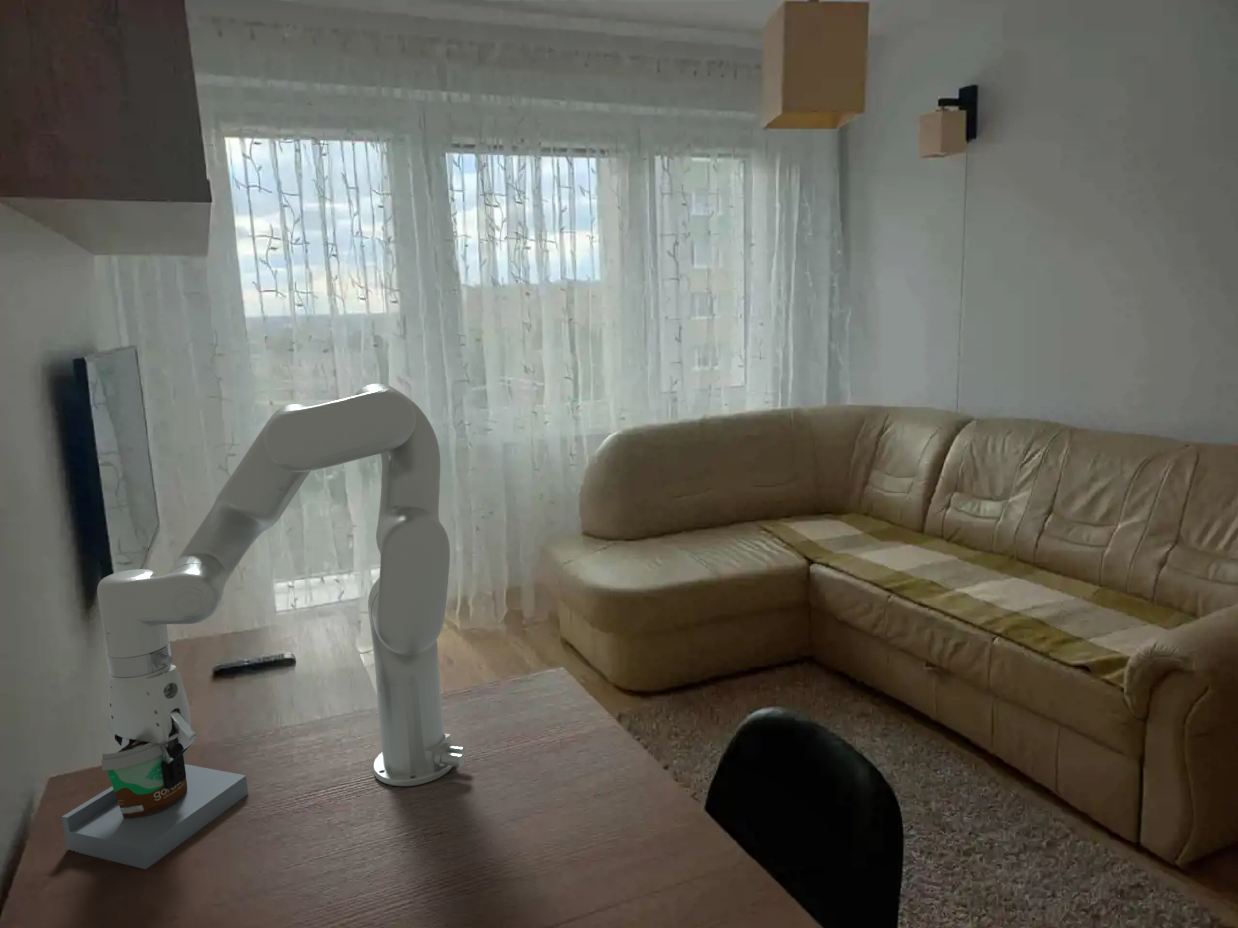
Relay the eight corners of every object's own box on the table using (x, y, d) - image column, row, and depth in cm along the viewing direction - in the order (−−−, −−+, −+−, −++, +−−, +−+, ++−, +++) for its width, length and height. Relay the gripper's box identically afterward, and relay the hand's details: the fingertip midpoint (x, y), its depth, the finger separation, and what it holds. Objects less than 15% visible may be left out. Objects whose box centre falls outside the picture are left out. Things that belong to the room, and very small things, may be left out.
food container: (152, 825, 112) (136, 756, 110) (114, 824, 113) (98, 756, 112) (216, 776, 124) (202, 713, 122) (181, 776, 125) (167, 713, 124)
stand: (248, 793, 125) (244, 763, 124) (145, 869, 108) (140, 834, 108) (176, 779, 130) (172, 749, 129) (67, 849, 113) (61, 816, 112)
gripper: (210, 655, 115) (226, 775, 119) (117, 643, 121) (134, 758, 124) (165, 678, 109) (183, 804, 112) (68, 664, 114) (88, 785, 117)
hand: (157, 778), depth 118 cm, fingers open, 5 cm apart
